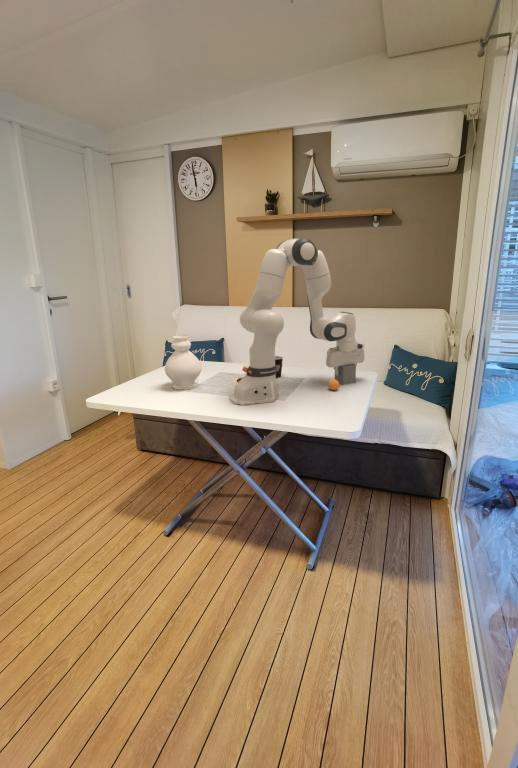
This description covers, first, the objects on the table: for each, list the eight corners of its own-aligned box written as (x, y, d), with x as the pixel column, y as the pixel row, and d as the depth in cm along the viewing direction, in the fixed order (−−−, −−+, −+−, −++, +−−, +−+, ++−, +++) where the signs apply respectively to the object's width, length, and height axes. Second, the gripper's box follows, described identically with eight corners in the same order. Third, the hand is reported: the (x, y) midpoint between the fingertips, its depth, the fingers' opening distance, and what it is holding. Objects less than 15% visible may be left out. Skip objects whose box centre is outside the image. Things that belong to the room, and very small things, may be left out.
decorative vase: (163, 392, 195) (158, 340, 188) (170, 381, 212) (165, 334, 205) (201, 390, 196) (196, 338, 188) (204, 380, 213) (200, 332, 206)
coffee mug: (283, 374, 219) (283, 355, 216) (282, 378, 210) (282, 359, 208) (261, 374, 220) (261, 356, 217) (260, 378, 212) (259, 359, 209)
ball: (332, 392, 186) (332, 381, 184) (326, 389, 190) (326, 379, 189) (341, 390, 188) (341, 379, 186) (335, 387, 192) (335, 377, 191)
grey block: (343, 384, 196) (343, 367, 194) (334, 381, 202) (334, 363, 200) (355, 382, 199) (355, 365, 196) (346, 379, 205) (346, 362, 203)
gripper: (331, 349, 189) (330, 378, 193) (366, 344, 197) (365, 372, 201) (323, 347, 194) (323, 375, 198) (358, 342, 202) (357, 369, 206)
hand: (345, 373), depth 199 cm, fingers closed on grey block, 7 cm apart
